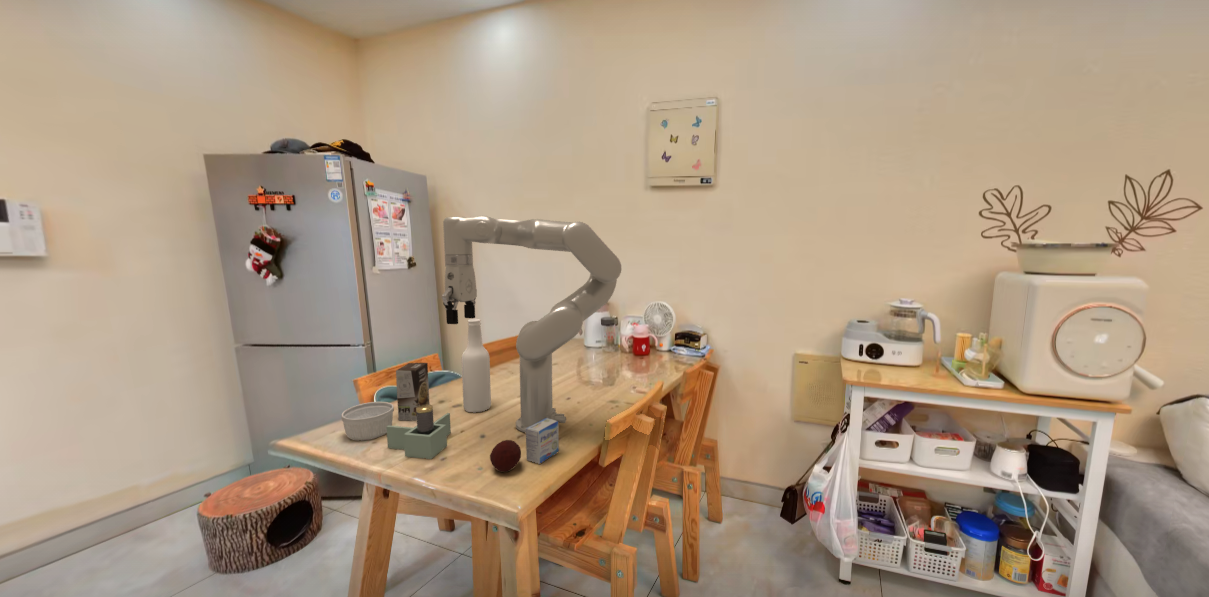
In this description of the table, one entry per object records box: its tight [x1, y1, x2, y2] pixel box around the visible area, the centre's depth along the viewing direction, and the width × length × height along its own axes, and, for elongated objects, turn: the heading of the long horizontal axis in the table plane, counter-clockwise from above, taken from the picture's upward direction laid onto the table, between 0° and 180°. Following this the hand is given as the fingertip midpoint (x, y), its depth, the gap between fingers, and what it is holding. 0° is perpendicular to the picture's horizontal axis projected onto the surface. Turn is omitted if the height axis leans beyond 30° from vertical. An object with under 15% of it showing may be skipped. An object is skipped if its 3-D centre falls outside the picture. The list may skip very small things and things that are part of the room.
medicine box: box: [525, 418, 560, 465], centre depth 110 cm, size 8×4×9 cm, turn 148°
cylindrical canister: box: [416, 404, 435, 435], centre depth 112 cm, size 4×4×12 cm
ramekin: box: [341, 401, 395, 441], centre depth 124 cm, size 13×13×7 cm
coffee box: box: [395, 362, 431, 422], centre depth 136 cm, size 9×6×16 cm
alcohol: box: [461, 318, 492, 414], centre depth 141 cm, size 9×9×30 cm
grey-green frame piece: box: [386, 412, 452, 460], centre depth 117 cm, size 15×15×6 cm
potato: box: [489, 439, 522, 473], centre depth 104 cm, size 7×8×7 cm
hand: (461, 320), depth 123 cm, fingers open, 9 cm apart
